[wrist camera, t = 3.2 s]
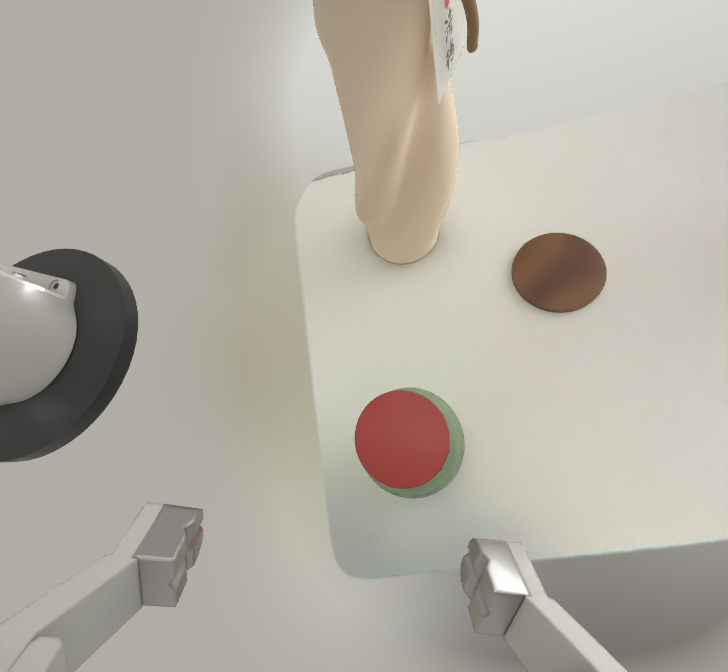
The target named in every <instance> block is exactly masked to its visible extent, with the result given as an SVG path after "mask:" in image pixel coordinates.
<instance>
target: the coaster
mask: <svg viewBox="0 0 728 672" xmlns="http://www.w3.org/2000/svg"><path fill="white" fill-rule="evenodd" d="M512 279H513V283H514V285H515V287H516V289H517V291H518V292H519V293H520V295H521V296H522V297H523V298H524V299H525V300H527V301H528V302H529V303H531V304H532V305H534V306H536V307H538V308H540V309H543V310H547V311H552V312H569V311H574V310H577V309H580V308H582V307H584V306H586V305H588V304H589V303H590V302H592V301H593V300H594V299H595V298H596V297H597V296H598V295H599V294H600V292H601V291H602V289H603V287H604V285H605V281H606V266H605V263H604V260H603V258H602V256H601V254H600V253H599V252H598V250H597V249H596V248H595V247H594V246H592V245H591V244H590V243H589V242H587V241H585V240H584V239H582V238H580V237H577V236H574V235H570V234H565V233H549V234H544V235H541V236H538V237H535V238H533V239H532V240H530V241H528V242H527V243H526V244H524V245H523V246H522V247H521V249H520V250H519V251H518V253H517V255H516V256H515V259H514V261H513V265H512Z"/></svg>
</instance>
